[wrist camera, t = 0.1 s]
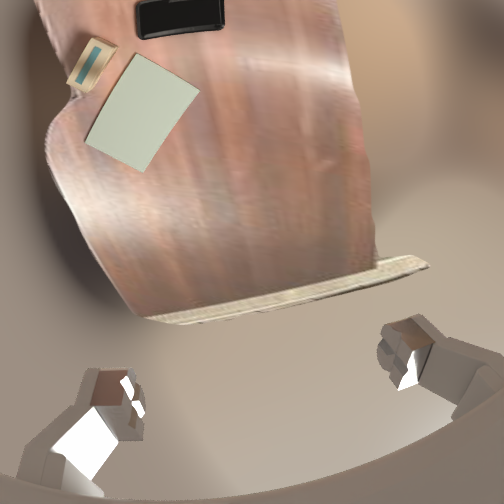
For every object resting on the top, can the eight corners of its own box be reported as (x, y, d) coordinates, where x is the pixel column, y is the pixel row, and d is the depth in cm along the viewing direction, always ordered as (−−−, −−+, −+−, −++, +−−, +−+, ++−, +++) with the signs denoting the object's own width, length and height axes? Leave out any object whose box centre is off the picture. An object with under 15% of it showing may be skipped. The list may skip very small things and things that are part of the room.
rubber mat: (137, 53, 40) (136, 53, 40) (200, 90, 48) (200, 90, 48) (85, 141, 49) (84, 142, 49) (143, 171, 56) (142, 172, 56)
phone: (225, 29, 40) (138, 41, 38) (224, 30, 41) (139, 41, 39) (223, -9, 35) (135, 2, 33) (223, -9, 36) (136, 2, 34)
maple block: (99, 37, 36) (91, 37, 33) (119, 46, 39) (112, 47, 35) (75, 78, 40) (65, 83, 36) (94, 87, 43) (85, 93, 39)
